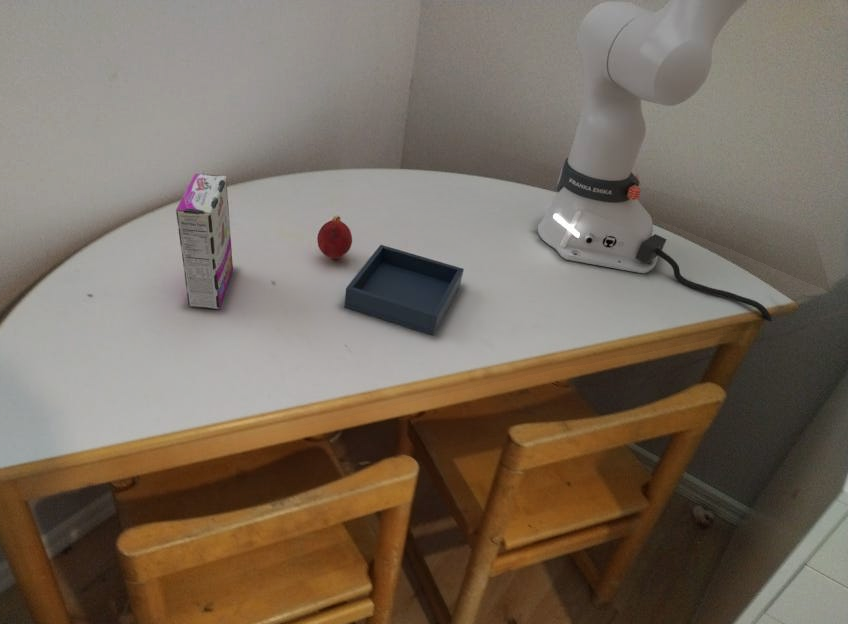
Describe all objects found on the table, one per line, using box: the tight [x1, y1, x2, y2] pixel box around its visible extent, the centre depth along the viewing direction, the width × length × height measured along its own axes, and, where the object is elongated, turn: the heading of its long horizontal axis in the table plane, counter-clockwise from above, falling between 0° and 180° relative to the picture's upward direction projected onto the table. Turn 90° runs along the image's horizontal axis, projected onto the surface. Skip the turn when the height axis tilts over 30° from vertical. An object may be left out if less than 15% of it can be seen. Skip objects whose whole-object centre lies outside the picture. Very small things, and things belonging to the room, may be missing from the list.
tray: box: [344, 244, 464, 336], centre depth 101 cm, size 15×15×4 cm
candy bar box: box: [175, 173, 234, 310], centre depth 94 cm, size 11×5×16 cm, turn 179°
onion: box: [316, 214, 353, 260], centre depth 106 cm, size 6×6×8 cm
